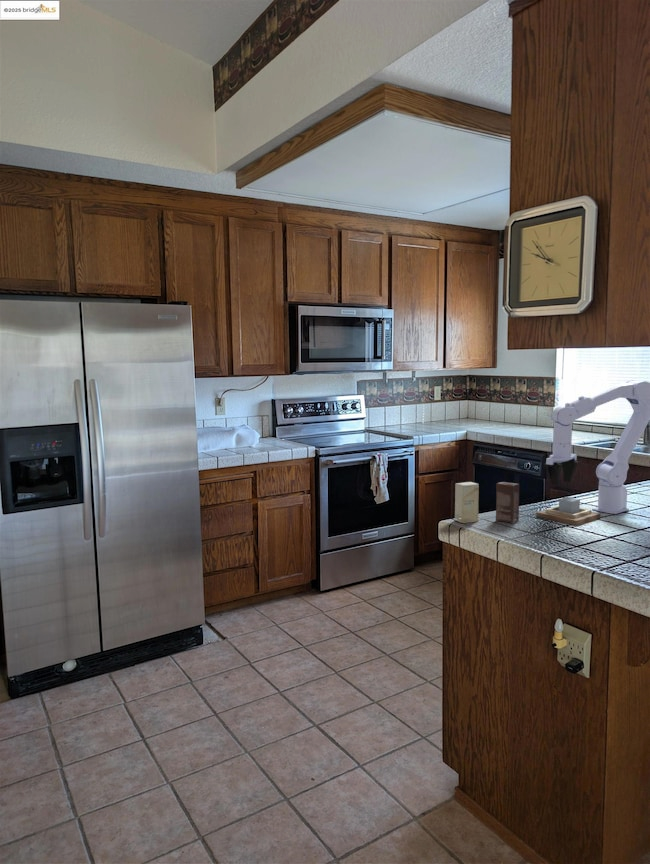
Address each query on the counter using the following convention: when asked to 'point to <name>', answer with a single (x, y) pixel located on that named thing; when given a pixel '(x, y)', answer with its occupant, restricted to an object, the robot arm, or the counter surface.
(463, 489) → the skincare box
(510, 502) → the box
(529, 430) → the counter surface
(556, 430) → the robot arm
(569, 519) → the base board
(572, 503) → the block
